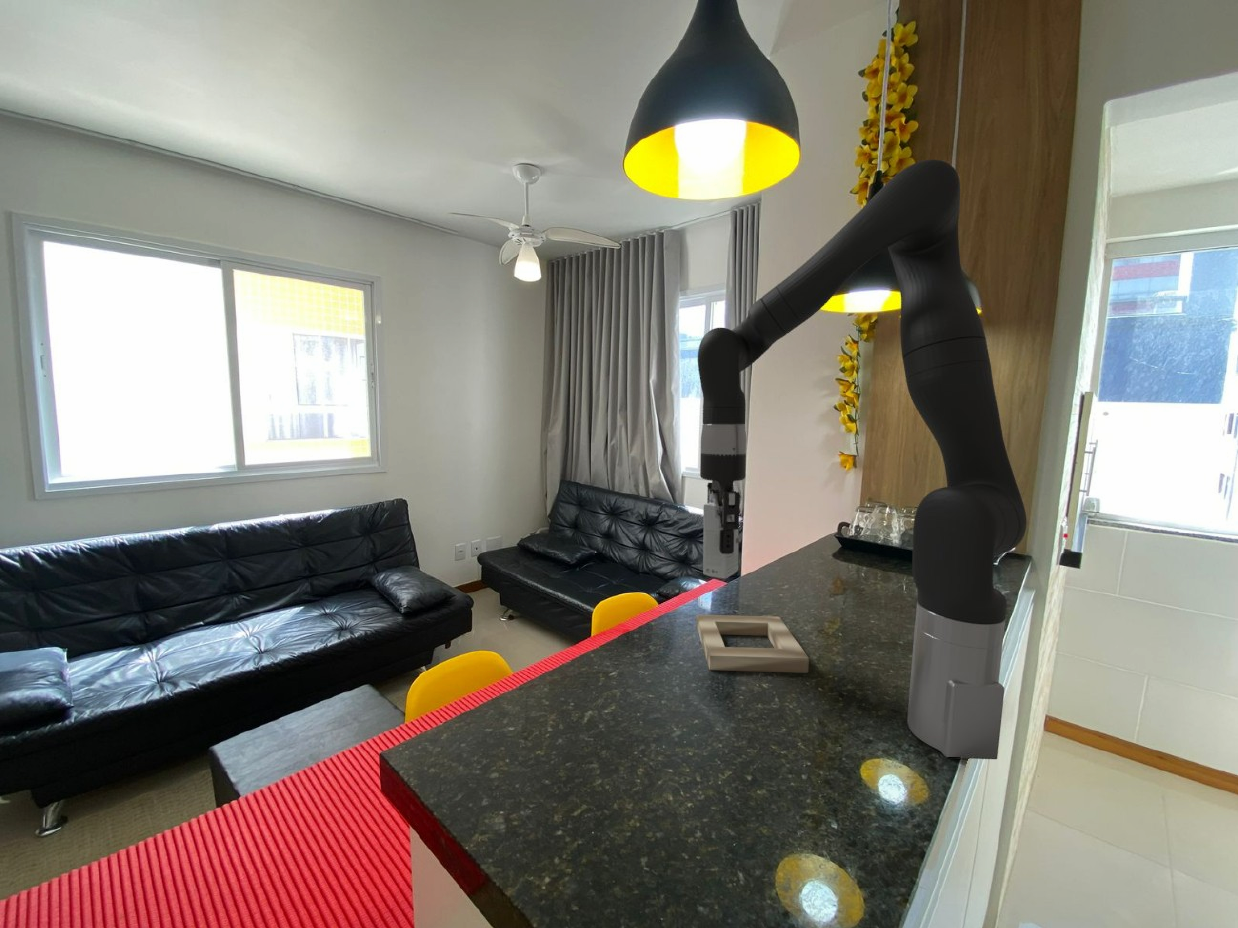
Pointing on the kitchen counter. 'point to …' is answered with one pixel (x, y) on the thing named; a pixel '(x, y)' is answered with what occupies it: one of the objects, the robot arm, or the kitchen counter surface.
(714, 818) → the kitchen counter surface
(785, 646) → the socket block
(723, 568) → the skincare box
